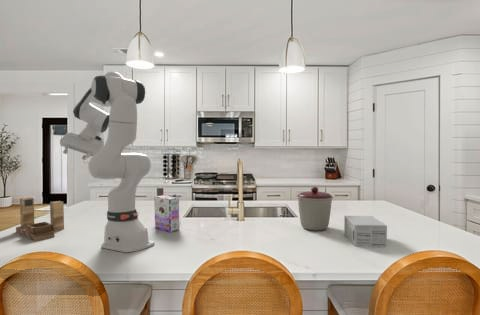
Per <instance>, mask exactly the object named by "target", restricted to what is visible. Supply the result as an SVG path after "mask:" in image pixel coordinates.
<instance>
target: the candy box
mask: <svg viewBox="0 0 480 315" xmlns="http://www.w3.org/2000/svg"><path fill="white" fill-rule="evenodd" d="M154 225H155V227H154V228H156V229H159V230H161V231H164V232H168V233H173V232H178V231H180V198H179V197H177V196H176V197H172V196H169V195H165V194H163V195H162V196H157V195H156V196H154Z"/></svg>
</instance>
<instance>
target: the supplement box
mask: <svg viewBox="0 0 480 315" xmlns="http://www.w3.org/2000/svg"><path fill="white" fill-rule="evenodd" d="M343 217H344V221H343V222H344V224H343V225H344V229H343V230H344V233H343V234H344V236H345V237H346V238H347V239H348V240H349V241H350V242H351V244H352V245H353V246H354V247H367V248H368V247H372V248H373V247H375V248H376V247H377V248H379V247H381V248H382V247H383V248H387V241H388V240H387V239H388V238H387V237H388V236H387V235H388V234H387V233H388V226H387V224H385V223H384V222H382V221H380V220H379V219H377V218H375V217H374V216H373V215H344V216H343Z"/></svg>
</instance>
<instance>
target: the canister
mask: <svg viewBox="0 0 480 315" xmlns="http://www.w3.org/2000/svg"><path fill="white" fill-rule="evenodd" d="M296 198H297V203H298V212H299V221H300V225H301V226H302V228H303V229H304V230H308V231H316V232H317V231H318V232H319V231H324V230H326V229H327V228H328V227H329V225H330V217H331V210H332V200H333V199H334V196H333V195H331V194H330V193H328V192H325V191H323V192H322V191H319V188H318V187H317V186H312V187H311V188H310V191H302V192H300V193H298V194H296Z"/></svg>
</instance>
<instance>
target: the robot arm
mask: <svg viewBox="0 0 480 315" xmlns="http://www.w3.org/2000/svg"><path fill="white" fill-rule="evenodd" d="M145 96H146V87H145V85H144V84H143V82H141V81H139V80H137V79H134V80H132V79H128V78H125V77H124V76H123V75H122V74H120V73H119V72H117V71H109V72H106V73H105V74H104V75H97V76H95V77H93V80H92V82H91V85H90V88H88V90H87V91H86V92H85V94H84V95H83V97H81V99H80V101H78V102H77V103H76V104H75V106H74V108H73V111H72V114H73V115H74V117H75V118H76V119H77V120H80V121H82V122H85V123H86V125H85V127H84V128H83V129H82V130H81V132H79V134H76V133H73V132H66V133H65V134H64V135H63V136H62V137H61V138H60V139H59V144H60V147H63V148H64V149H63V151H62V152H63V154H65V155H68V153H69V150H72V151H76V152H78V153H81V154H85V155H82V158H81V159H82V160H84V161H86V160H87V159H89V158H90V159H89V161H88V166H87V168H88V171H89V174H90V175H91V176H92V177H93V178H95V179H98V180H99V179H100V180H115V179H121V180H120V182H119V184H118V185H116V186H115V187H113V188H111V190H109V191H108V194H107V211H106V219H107V223H106V225H105V226H104V232H103V233H104V234H103V243H101V246H100V247H101V248H102V249H107V250H111V251H116V252H117V251H118V252H122V253H132V252H138V251H141V250H144V249H147V248H150V247H152V246H155V241H153V240H151V239H150V238H149V232H148V227H146V226H144V224H143V223H142V222H141V221H140V220H139V212H138V211H137V208H136V193H137V189H138V187H139V184H140V182H141V181H142V180H143V178H145V177H146V175H148V174H149V172H150V170H151V167H152V162H151V160H150V158H149V156H148V155H147V154H144V153H139V152H138V153H137V152H123V151H124V149H125V148H126V147H128V146H130V145H132V144H133V143H134V142H135V141H136V139H137V129H138V108H137V105H139V104H141V103H143V102H144V100H145ZM92 103H94V104H97V105H100V106H103V107H109V108H110V109H109V113H107V112H105V110H103V109H100V108H99V107H97V106H95V105H93V104H92ZM107 130H108V131H107ZM106 131H107V138H106V141H105V140H104V138H102V137H101V136H102V134H103V133H105V132H106ZM104 142H105V143H104Z"/></svg>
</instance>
